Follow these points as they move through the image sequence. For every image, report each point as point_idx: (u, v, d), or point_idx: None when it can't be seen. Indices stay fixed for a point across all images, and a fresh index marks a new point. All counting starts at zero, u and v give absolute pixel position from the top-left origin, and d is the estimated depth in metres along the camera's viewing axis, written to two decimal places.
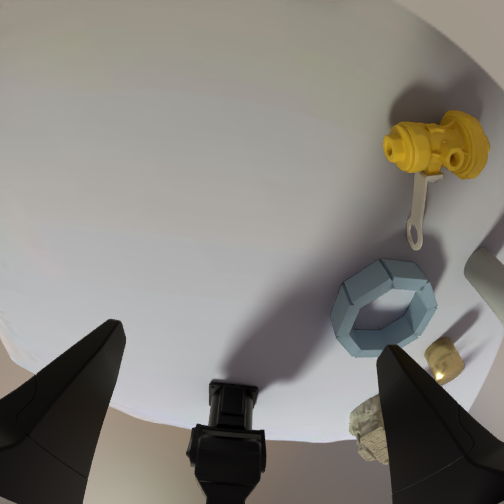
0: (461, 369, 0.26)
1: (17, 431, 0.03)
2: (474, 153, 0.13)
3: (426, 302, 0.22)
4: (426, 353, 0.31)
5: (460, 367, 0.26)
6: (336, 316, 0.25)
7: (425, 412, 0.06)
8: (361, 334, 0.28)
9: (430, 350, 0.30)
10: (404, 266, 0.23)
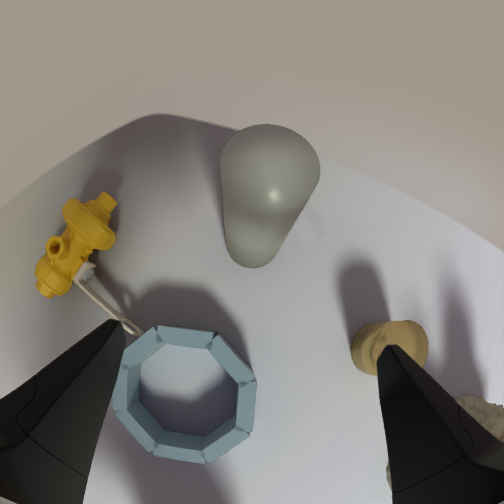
0: (414, 327, 0.17)
1: (17, 431, 0.03)
2: (70, 222, 0.17)
3: (189, 344, 0.18)
4: (361, 370, 0.21)
5: (404, 329, 0.17)
6: None
7: (425, 412, 0.06)
8: (210, 435, 0.18)
9: (357, 363, 0.20)
10: None
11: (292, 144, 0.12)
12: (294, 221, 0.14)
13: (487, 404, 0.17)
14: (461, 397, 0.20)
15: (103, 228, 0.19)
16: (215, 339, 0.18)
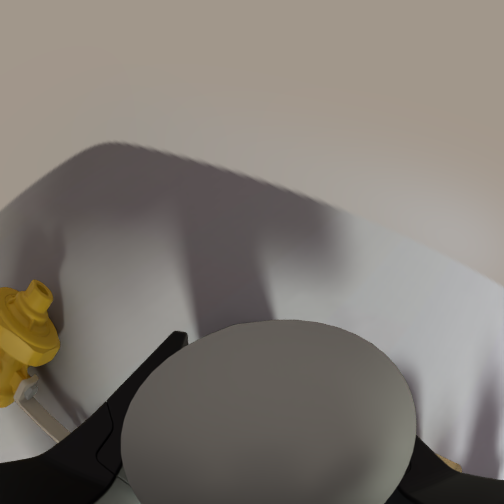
0: None
1: (102, 473, 0.03)
2: None
3: None
4: None
5: None
6: None
7: None
8: None
9: None
10: None
11: (355, 398, 0.03)
12: None
13: None
14: None
15: (32, 348, 0.10)
16: None
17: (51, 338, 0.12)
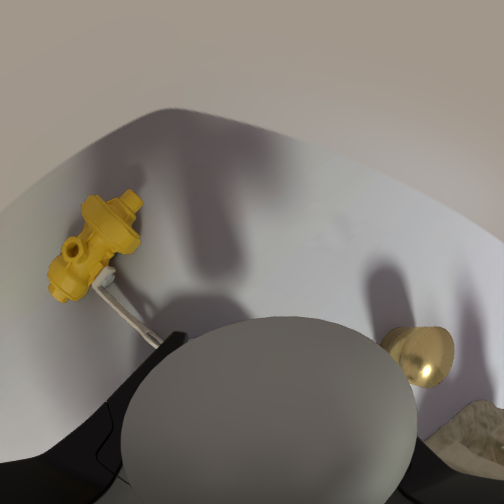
0: (442, 333, 0.16)
1: (102, 473, 0.03)
2: (91, 222, 0.16)
3: None
4: None
5: (434, 336, 0.16)
6: None
7: None
8: None
9: None
10: None
11: (356, 395, 0.03)
12: None
13: (497, 409, 0.16)
14: (472, 403, 0.19)
15: (129, 231, 0.17)
16: None
17: None
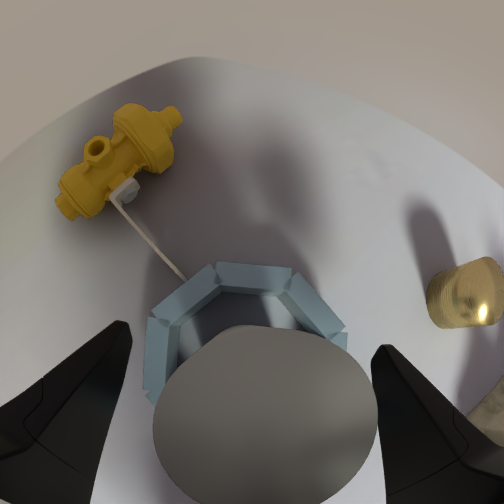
0: (493, 265, 0.13)
1: (25, 436, 0.03)
2: (124, 123, 0.14)
3: (261, 285, 0.14)
4: (438, 324, 0.17)
5: (487, 266, 0.13)
6: None
7: (419, 414, 0.05)
8: None
9: (435, 315, 0.17)
10: None
11: (326, 386, 0.05)
12: None
13: None
14: None
15: (165, 138, 0.15)
16: (295, 277, 0.14)
17: None
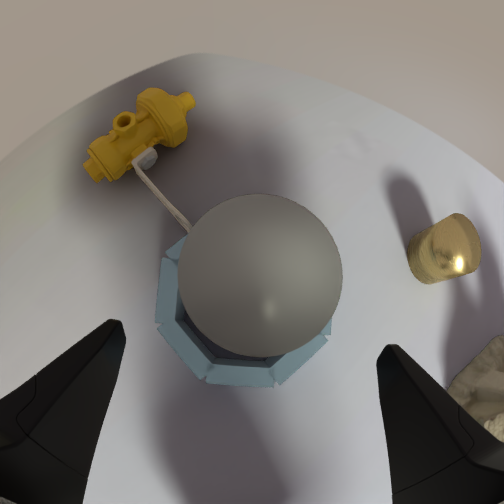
0: (466, 221, 0.16)
1: (17, 431, 0.03)
2: (147, 103, 0.17)
3: None
4: (420, 278, 0.20)
5: (459, 221, 0.16)
6: None
7: (425, 412, 0.06)
8: None
9: (416, 269, 0.20)
10: None
11: (299, 233, 0.08)
12: None
13: None
14: (499, 336, 0.19)
15: (181, 116, 0.18)
16: None
17: None
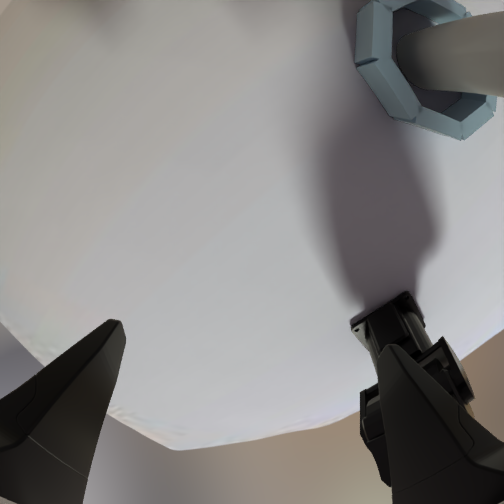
0: None
1: (17, 431, 0.03)
2: None
3: (450, 8, 0.08)
4: None
5: None
6: (389, 102, 0.13)
7: (425, 412, 0.06)
8: (447, 113, 0.14)
9: None
10: None
11: None
12: None
13: None
14: None
15: None
16: (468, 14, 0.08)
17: None
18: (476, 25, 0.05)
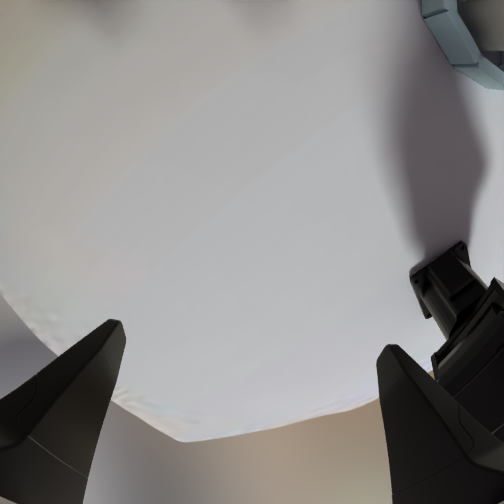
0: None
1: (17, 432, 0.03)
2: None
3: None
4: None
5: None
6: (454, 49, 0.11)
7: (425, 412, 0.06)
8: None
9: None
10: None
11: None
12: None
13: None
14: None
15: None
16: None
17: None
18: None
